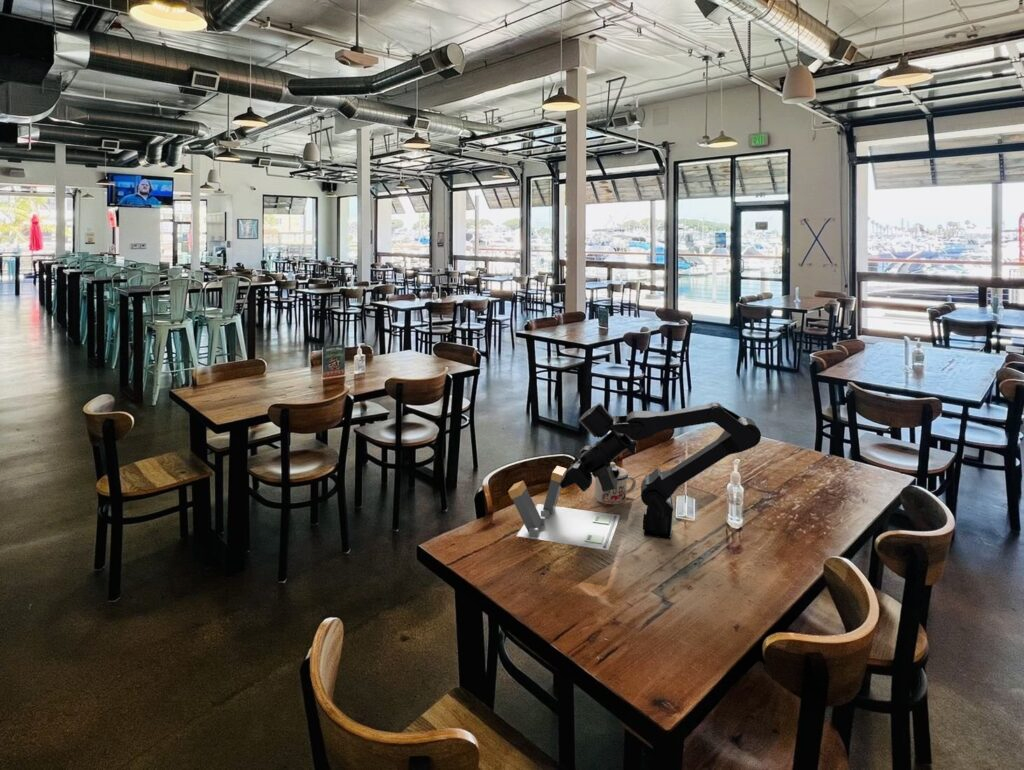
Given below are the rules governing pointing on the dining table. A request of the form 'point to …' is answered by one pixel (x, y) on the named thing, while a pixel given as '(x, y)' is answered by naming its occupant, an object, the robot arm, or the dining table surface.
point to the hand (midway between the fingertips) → (561, 486)
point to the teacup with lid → (616, 494)
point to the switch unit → (574, 527)
